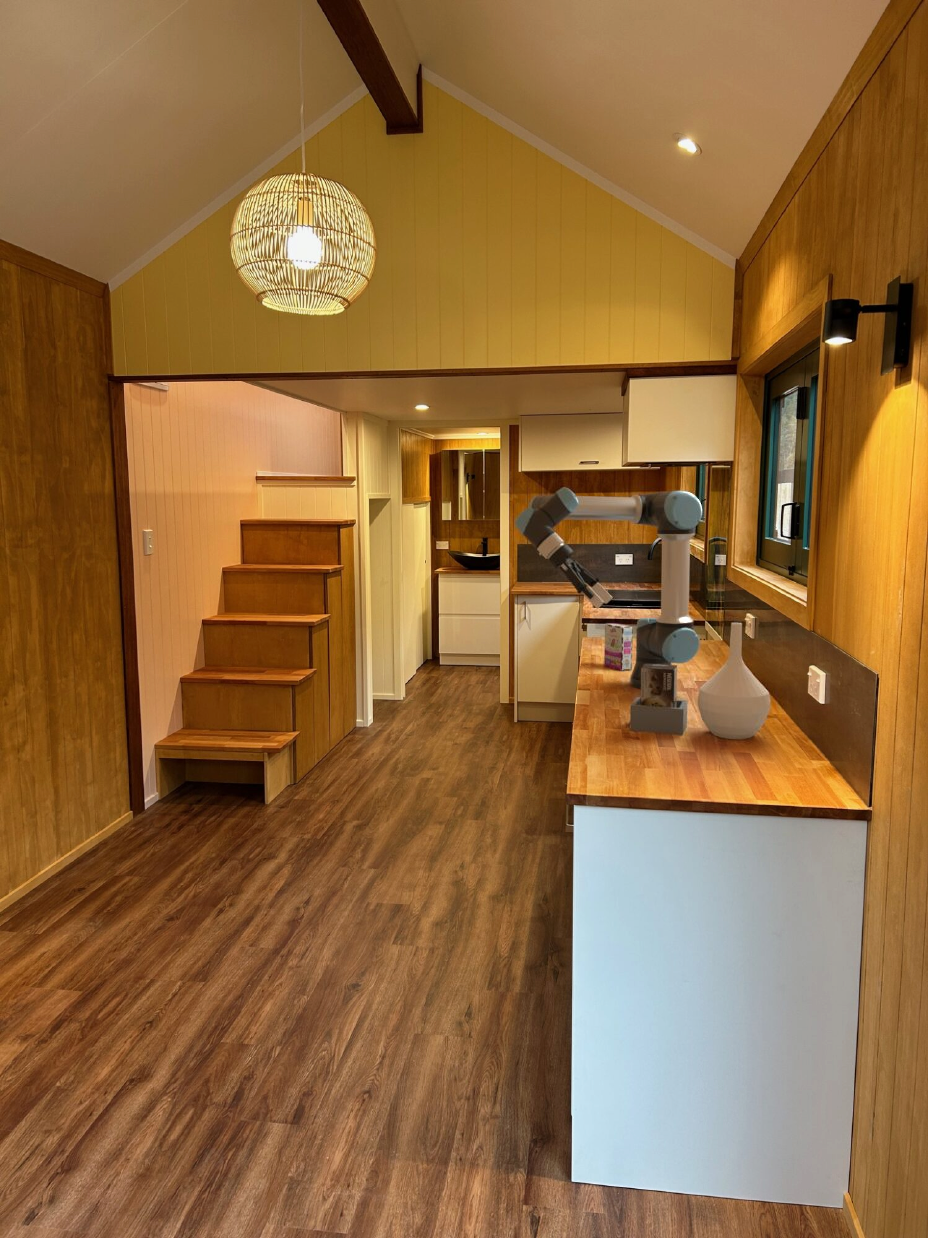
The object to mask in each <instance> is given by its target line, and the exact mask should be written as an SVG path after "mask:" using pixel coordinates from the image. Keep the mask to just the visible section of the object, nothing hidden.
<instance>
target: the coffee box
mask: <svg viewBox="0 0 928 1238" xmlns="http://www.w3.org/2000/svg"><path fill="white" fill-rule="evenodd" d="M677 683H678V665H676V664H672V665H661V664H644V665H643V667H642V668H641V688H640V697H641V705H647V706H661V707H674V708H676V700H678V699H677V694H678V693H677V692H678V689H677V687H678V684H677Z"/></svg>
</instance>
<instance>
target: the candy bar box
mask: <svg viewBox="0 0 928 1238" xmlns="http://www.w3.org/2000/svg"><path fill="white" fill-rule="evenodd" d="M633 628H634V626H632V625H631V626H630V625H627V624H621V623H616V622H615V623H614V622H613V623H612V622H611V623H605V624H604V655H603V656H604V661H603V664H604V665H603V667H605V666H606V668H609V667H610V668H609V669H612V668H614V669H613V670H617V671H620V670H621V672H624V670H626V671H631V670H632V667H633V665H632V664H633V663H632V662H633V636H634V635H633V634H634V633H633V631H634V630H633ZM632 671H633V670H632Z"/></svg>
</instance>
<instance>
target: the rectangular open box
mask: <svg viewBox="0 0 928 1238" xmlns="http://www.w3.org/2000/svg"><path fill="white" fill-rule="evenodd" d="M629 717H630V718H629V730H630V731H632V732H643V733H653V734H654V733H655V734H664V735H677V736H678V735H679V736H684V733H685V730H686V728H687V726H688V700H686V699H685V700H684V699H676V708H674V707H661V706H647V705H641V696H636V697H635V699H633V701H632V702H631V704H630V715H629Z"/></svg>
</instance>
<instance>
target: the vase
mask: <svg viewBox="0 0 928 1238" xmlns="http://www.w3.org/2000/svg"><path fill="white" fill-rule="evenodd" d="M742 630H743V623H742V622H731V624H730V637H729V639H730V640H729V655H728V658H727V660H726V662H725V663H724V664H723V665H722V667H721V668H719V670H718V671H716V673H714V674H713V676H712V677H710V678H709V679H708V680H707V681H706V682H704V684H703V685H701V687H699V691H698V695H697V707H698V710H699V712H700V713H699V714H700V717H701V720H702V721H703V723H704V725H705V726H706V728H707V729H708V730H709V732H710V733H711V734H712V735H714V736H715V737H718V738H722V739H727V740H746V739H751V738H752V737H754V736H755V735H756V734H757V733H758V732H759V731H760V730H761V728H762V727H763V726H764V724H765V722H766V720H767V717H768V715H769V713H770V709H771V697H770V696H771V695H770V692H769V691H768V690H767V689H766V687H765V686H764V685H763V684H762V683H761V682H760V681H759V680H758V679H757V677H755V675H754V674H753V672H752V671H751V670H750V669H749V668H748V667H747V666H746V663H745V662H744V661H743V657H742V650H743V649H742V647H743V646H742V644H743V642H742V640H743V638H742V637H743V633H742V632H743V631H742Z"/></svg>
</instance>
